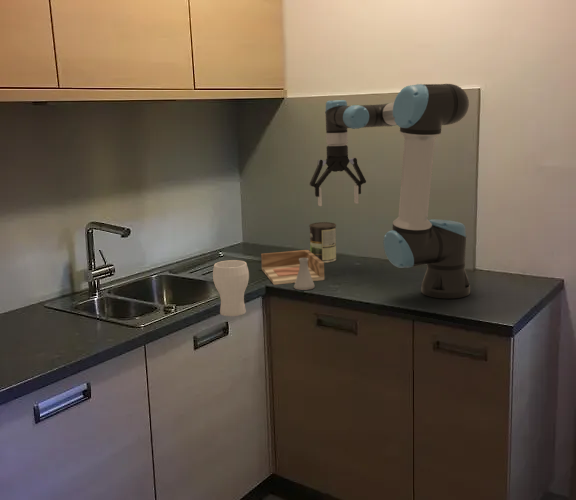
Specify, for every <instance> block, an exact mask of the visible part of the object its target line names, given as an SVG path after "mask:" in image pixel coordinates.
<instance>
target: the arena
mask: <svg viewBox="0 0 576 500" xmlns="http://www.w3.org/2000/svg"><path fill="white" fill-rule="evenodd" d="M260 255H261V257H260V258H261V259H260V261H261V271H262V272H263V273H264V274H265V276H266V277H267V278H268V279H269V281H270V282H271V283H272V285H275V286H276V285H284V284H286V285H288V284H293V283H294V284H295V282H296V279H297V275H298V272H299V267H300V261H299V259H300V258H308V268H309V272H310V275H311V277H312V280H313V282H317V281H324V280H325V263H324V262H323V261H321V260H320V259H319V258H318V257H316V256H315V255H314V254H313V253H311V252H310V249H301V250H289V251H288V250H287V251H278V252H266V253H260Z"/></svg>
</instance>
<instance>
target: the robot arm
mask: <svg viewBox="0 0 576 500" xmlns="http://www.w3.org/2000/svg"><path fill="white" fill-rule="evenodd" d="M469 107H470V102H469V97H468V94H467V92H466V91H465V90H464V89H463V88H462V87H460V86H459V85H456V84H453V83H440V84H439V83H437V84H436V83H431V84H429V83H427V84H425V83H424V84H422V83H417V84H410V85H407V86H405V87H403V88H402V89H401V90H400V91H399V92H398V93H397V95H396V97H395V99H394V101H393V102H388V103H382V104H363V105H362V104H361V105H358V104H355V105H354V104H351V105H348V102H347V100H345V99H340V100H339V99H335V100H327V101H326V103H325V111H324V113H325V131H326V132H325V133H326V135H325V137H326V139H325V140H326V145H327V146H326V159H318V160H317V166H316V169H315V171H314V172H313V175H312V177H311V180H310V182H309V186H310V187H314V197H316V198H317V205H318V207H323V198H322V197H323V196H322V187H321V185H322V184H323V183H324V181H325V180H327V177H328V176H329V175H330V174H331V173H332V172H333V173H334V172H336V173H337V172H345V173H346V174H347V175H348V176H349V177H350V178H351V180H352V181H353V182H354V183H355V184H354V185H353V194H354V198H353V199H354V201H353V202H354V204H356V205H359V203H360V201H359V200H360V199H359V195H361V194H362V185H363V184H366V183H367V180H366V178H365V176H364V174H363V172H362V170H361V168H360V166H359V164H358V159H357V158H356V157H352V158H349V146H348V145H347V144H348V142H349V139H348V129H352V130H355V129H356V130H357V129H358V130H359V129H363V128H364V129H365V128H379V127H380V128H383V127H387V128H388V127H393V126H398V127H399V133H400V134H401V135H402V137H403V138H404V140H403V141H404V143H403V155H402V168H401V180H400V181H401V182H400V193H399V206H398V217H396V218H395V219H394V220H393V221H392V229H391V230H389V231H387V232H386V233H385V234H384V236H383V242H382V243H383V249H384V253H385V256H386V257H387V260H388V261H389V262H390V263H391V264H392V265H393V266H394V267H396V268H400V269H403V268H408V269H409V268H412V267H413V268H414V267H417V266H418V267H419V266H424V265H426V267H427V268H426V270H425V274H424V276H423V279H422V282H421V285H420V286H421V290H420V292H421V293H422V295H425V296H427V297H430V298H435V299H448V300H449V299H451V300H453V299H461V298H465V297H467V296H469V295H471V285H470V281H469V277H468V275H467V271H466V244H467V242H466V241H467V239H466V238H467V235H466V234H467V233H466V232H467V231H466V226H465V224H464V223H462V222H459V221H456V220H455V221H454V220H449V219H447V220H446V219H435V218H434V219H432V218H431V219H428V216H429V206H430V195H431V194H430V193H431V185H432V175H433V173H432V172H433V161H434V152H435V143H436V142H435V141H436V139H437V138H438V137H439V136H441V135H442V126H448V125H454V124H456V123H458V122H460V121H462V120H463V118H464V117H465V116H466V115H467V113H468V110H469ZM349 163H350V165H352V167H353V169H354V171H355V173H356V175H357V176H358V178H357V176H356V175H355V174H354V173H353V172H352V171H351V169H350V168H349V167H348V165H349ZM325 165H326V166H327V167H326V168H325V171H324V172H323V173H322V175H321V176H320V173H321V171H322V169H323V167H324V166H325ZM319 176H320V177H319ZM318 178H319V179H318Z"/></svg>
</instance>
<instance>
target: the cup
mask: <svg viewBox="0 0 576 500" xmlns="http://www.w3.org/2000/svg"><path fill="white" fill-rule="evenodd" d="M249 271H250V270H249V267H248V264H247V262H246V261H244V260H236V259H231V260H229V259H228V260H222V261H218V262H216V263H214V265H213V269H212V277H213V278H212V280H213V283H214V286H215V288H216V290H217V292H218V294H219V297H220V307H219V308H220V309H219V314H220V315H221V316H224V317H237V316H242V315H244V314H246V313H247V310H246V305H245V299H244V298H245V291H246V289H247V287H248V284H249V280H250V272H249Z"/></svg>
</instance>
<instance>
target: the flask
mask: <svg viewBox="0 0 576 500" xmlns="http://www.w3.org/2000/svg"><path fill="white" fill-rule="evenodd" d="M299 261H300V267H299V272H298V275H297V279H296V282H295V283H294V285H293V288H294V289H295V290H300V291H306V290H307V291H308V290H313V289H315V288H316V286H315V283H314V282H315V281H313V280H312V277H311V275H310V272H309V268H308V258H300V259H299Z"/></svg>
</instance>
